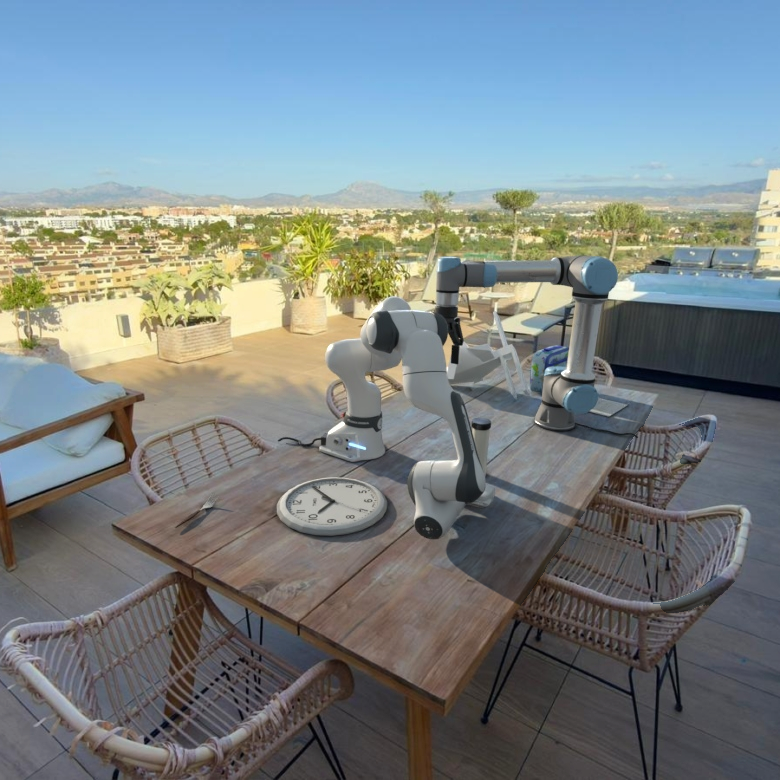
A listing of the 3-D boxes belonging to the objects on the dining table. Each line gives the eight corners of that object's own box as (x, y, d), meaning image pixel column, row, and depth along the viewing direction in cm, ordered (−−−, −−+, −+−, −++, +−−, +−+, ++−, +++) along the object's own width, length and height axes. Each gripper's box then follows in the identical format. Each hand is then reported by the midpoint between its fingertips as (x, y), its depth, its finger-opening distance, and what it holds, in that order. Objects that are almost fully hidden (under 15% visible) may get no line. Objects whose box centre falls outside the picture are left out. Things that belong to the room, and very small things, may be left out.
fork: (171, 528, 130) (170, 521, 130) (212, 499, 145) (211, 492, 144) (179, 530, 129) (178, 523, 129) (220, 500, 144) (219, 494, 143)
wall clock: (392, 527, 129) (268, 531, 127) (391, 533, 130) (269, 537, 127) (383, 473, 158) (282, 475, 155) (383, 478, 158) (282, 480, 156)
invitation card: (608, 416, 214) (573, 407, 224) (608, 416, 214) (573, 408, 224) (628, 404, 229) (594, 396, 238) (628, 405, 229) (594, 397, 238)
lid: (486, 423, 161) (486, 417, 160) (493, 429, 155) (494, 423, 155) (468, 424, 160) (469, 418, 159) (475, 431, 154) (476, 424, 154)
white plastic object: (461, 429, 252) (437, 405, 227) (444, 352, 274) (420, 323, 250) (535, 404, 240) (518, 377, 215) (510, 326, 262) (492, 293, 237)
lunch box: (546, 398, 236) (551, 353, 229) (525, 393, 243) (529, 349, 237) (573, 387, 253) (579, 344, 247) (553, 382, 260) (558, 341, 254)
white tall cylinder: (482, 470, 165) (486, 418, 160) (488, 477, 160) (492, 424, 155) (467, 471, 164) (470, 419, 159) (472, 478, 159) (476, 425, 154)
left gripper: (489, 496, 131) (501, 473, 143) (413, 479, 139) (431, 459, 151) (487, 518, 133) (499, 494, 145) (412, 500, 141) (430, 478, 153)
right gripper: (457, 300, 184) (454, 359, 191) (414, 307, 166) (412, 372, 172) (476, 302, 180) (472, 362, 186) (434, 310, 161) (431, 376, 168)
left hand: (464, 476), depth 148 cm, fingers open, 8 cm apart
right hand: (443, 367), depth 179 cm, fingers open, 13 cm apart
